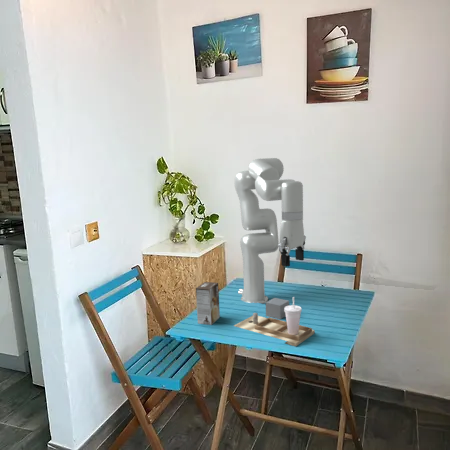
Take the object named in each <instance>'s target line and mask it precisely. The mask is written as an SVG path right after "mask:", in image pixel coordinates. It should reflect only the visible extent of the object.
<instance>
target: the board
mask: <svg viewBox="0 0 450 450" xmlns="http://www.w3.org/2000/svg"><path fill="white" fill-rule="evenodd" d="M233 326H234V327H236V328H239V329H243V330H246V331H250V332H254V333H256V334H257V333H258V334H261V335H263V336H264V335H265V336H267V337H271V338H275V339H279V340H282V341H284V344H285V345H289V346H292V347H297V346H299V345H301V344H302V343H303V342H305V341H306V340H307V339H309V338H310V337H312V336H313V335H314V334H315V332H316V331H315V329H313V328H312V327H310V326H305V325H300V324H299V331H298V334H296V335H291V334H289V333H288V328H287V321H285V320H282V319H281V320H280V319H276V318H272V317H264V316H262V315H261V316H260V315H259V314H258V313H257V312H253V313H252V315H251V316H250V317H248V318H246V319H243V320H241V321H240V322H238V323H236V324H234V325H233Z"/></svg>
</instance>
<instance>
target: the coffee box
mask: <svg viewBox="0 0 450 450" xmlns="http://www.w3.org/2000/svg"><path fill="white" fill-rule="evenodd" d="M219 292H220V290H219V282H212V281H204V282H202V283H201V284H200V285H198V286H197V287H195V296H196V298H195V299H196V314H197V324H199V325H200V324H201V325H209V326H212V325H213V324H215V323H216V321H218V320H219V319H220V317H221V313H220V310H221V309H220V295H219V294H220V293H219Z"/></svg>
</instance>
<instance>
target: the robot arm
mask: <svg viewBox="0 0 450 450" xmlns="http://www.w3.org/2000/svg"><path fill="white" fill-rule="evenodd" d="M284 169H285V168H284V163H283V162H282V161H281V160H280V158H277V157H269V158H268V157H267V158H256V159H253V160H252V161H251V162H250V163H249V164H248V170H244V171H239V172H237V173H236V175H235V176H234V188H235V191H236V194H237V197H238V200H239V207H240V209H239V210H240V216H241V217H240V218H241V225H242V228H243V229H244V230H246V231H262V230H264V231H265V232H255V233H248V234H244V235H243V236H242V237H241V238H240V242H239V243H240V248H241V249H240V250H241V256H242V270H243V288H239V289H238V292H237V294H238V295H241V298H240V301H242V302H244V303H249V304H253V303H254V304H262V305H263V304H266V302H268V301H269V297H268V296H267V295H265V263H264V261H263V259H262V258H261V257H260V256H259V255H261V254H270V253H275V252H277V251H278V250H279V253H280V256H281V257H280V258H281V259H280V261H281V266H283V267H290V266H291V255H290V253H291V250H293V249H295V260H296V261H301V262H302V261H304V260H305V256H304V255H305V253H304V251H305V245H306V240H307V239H306V238H307V236H306V235H305V229H304V228H305V227H304V223H303V222H304V185H303V183H302V182H301V181H299V180H298V181H296V180H294V179H289V178H287V179H281V178H282V176H283V173H284ZM253 190H255V191H256V193H255V192H254V191H253ZM257 195H258V196H257ZM258 197H260V199H261V200H264V201H267V202H273V201H281V222H280V226H279V228H278V220H277V215H276V213H275V210H273V209H272V208H260V203H259V202H260V201H259V198H258ZM278 229H279V232H278Z"/></svg>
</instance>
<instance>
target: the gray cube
mask: <svg viewBox="0 0 450 450" xmlns="http://www.w3.org/2000/svg"><path fill="white" fill-rule="evenodd" d="M289 305H290V300H288V299H282V298H278V297H273V298H271V299H268V301H267V302H266V303H265V316H266V317H267V318H273V319H277V320H281V321H282V319H284V318H286V314H285V311H284V308H285V307H286V306H289Z"/></svg>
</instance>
